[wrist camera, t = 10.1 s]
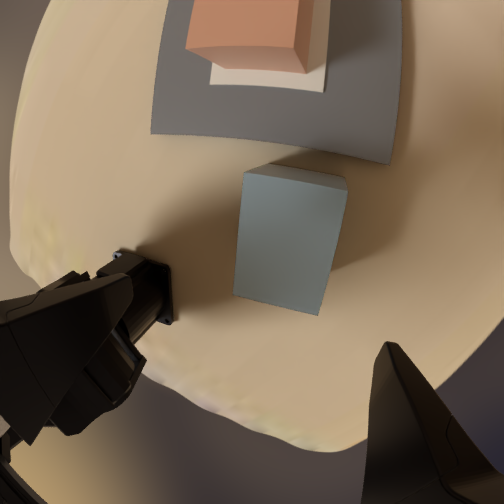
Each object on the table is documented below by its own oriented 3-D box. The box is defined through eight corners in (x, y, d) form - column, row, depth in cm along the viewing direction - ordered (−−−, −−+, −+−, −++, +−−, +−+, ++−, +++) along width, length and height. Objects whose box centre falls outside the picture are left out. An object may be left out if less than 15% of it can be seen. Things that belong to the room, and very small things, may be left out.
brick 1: (306, 74, 13) (293, 48, 9) (225, 68, 14) (185, 48, 10) (315, -16, 10) (304, -58, 6) (238, -16, 11) (207, -52, 7)
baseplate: (386, 164, 15) (390, 165, 14) (158, 133, 18) (148, 134, 17) (395, -34, 8) (397, -42, 7) (185, -37, 12) (178, -42, 11)
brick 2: (323, 274, 19) (317, 315, 15) (256, 259, 20) (232, 294, 16) (344, 177, 16) (348, 191, 12) (268, 163, 17) (244, 172, 13)
